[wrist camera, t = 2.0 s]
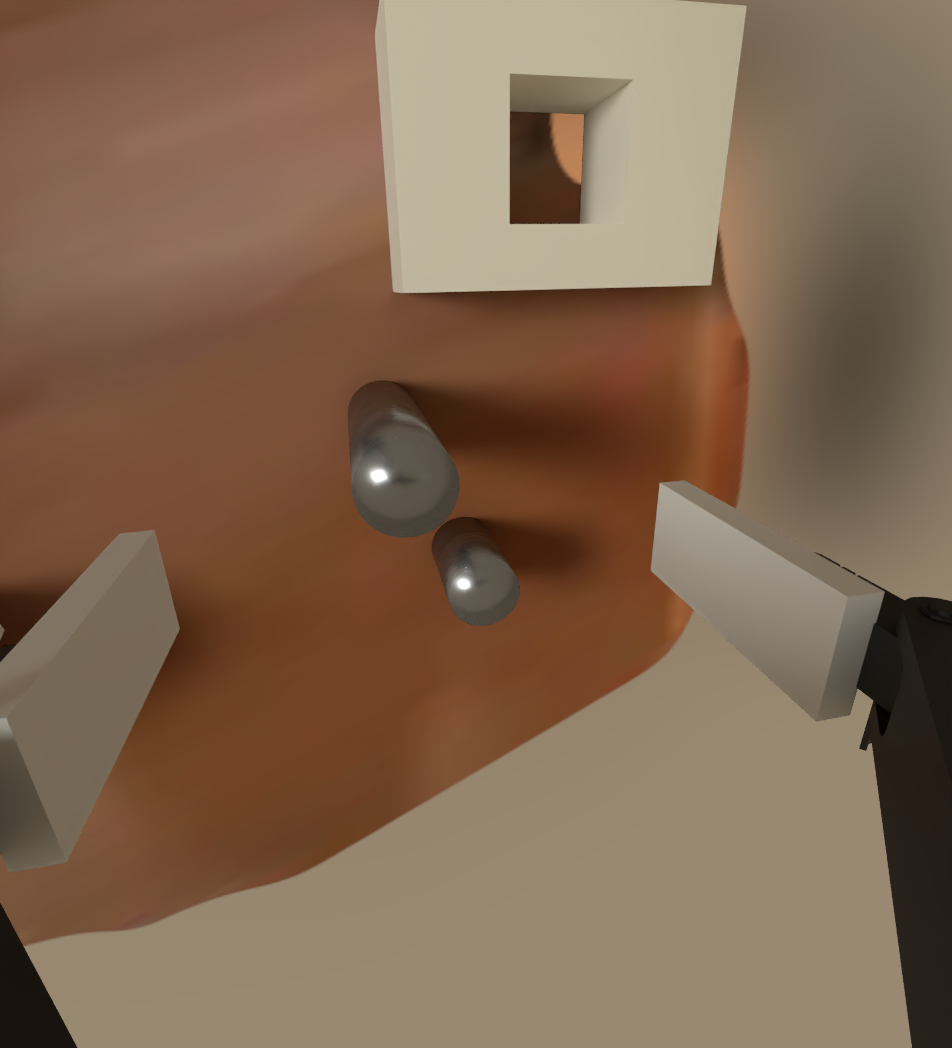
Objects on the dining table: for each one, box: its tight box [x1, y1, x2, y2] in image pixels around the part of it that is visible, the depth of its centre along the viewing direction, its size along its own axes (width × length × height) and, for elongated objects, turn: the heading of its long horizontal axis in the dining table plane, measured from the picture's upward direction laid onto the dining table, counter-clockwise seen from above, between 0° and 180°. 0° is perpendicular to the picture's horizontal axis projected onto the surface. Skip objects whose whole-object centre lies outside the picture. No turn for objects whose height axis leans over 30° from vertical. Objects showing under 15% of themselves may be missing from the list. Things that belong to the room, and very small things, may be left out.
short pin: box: [432, 517, 520, 626], centre depth 31 cm, size 4×4×6 cm
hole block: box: [375, 0, 746, 293], centre depth 25 cm, size 10×14×5 cm
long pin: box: [348, 381, 459, 537], centre depth 25 cm, size 4×4×12 cm
